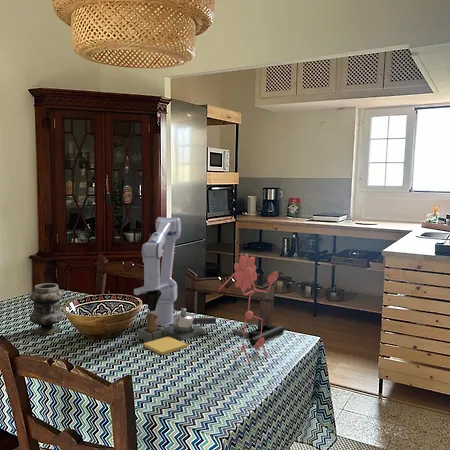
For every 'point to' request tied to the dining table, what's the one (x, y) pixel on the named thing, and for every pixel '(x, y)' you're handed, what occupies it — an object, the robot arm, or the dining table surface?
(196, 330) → the chuck stand
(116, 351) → the dining table surface
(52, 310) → the apothecary jar
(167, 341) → the mat
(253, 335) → the door handle
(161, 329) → the socket
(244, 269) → the pink stick man
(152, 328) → the brown upright block
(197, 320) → the lidded saucepan
